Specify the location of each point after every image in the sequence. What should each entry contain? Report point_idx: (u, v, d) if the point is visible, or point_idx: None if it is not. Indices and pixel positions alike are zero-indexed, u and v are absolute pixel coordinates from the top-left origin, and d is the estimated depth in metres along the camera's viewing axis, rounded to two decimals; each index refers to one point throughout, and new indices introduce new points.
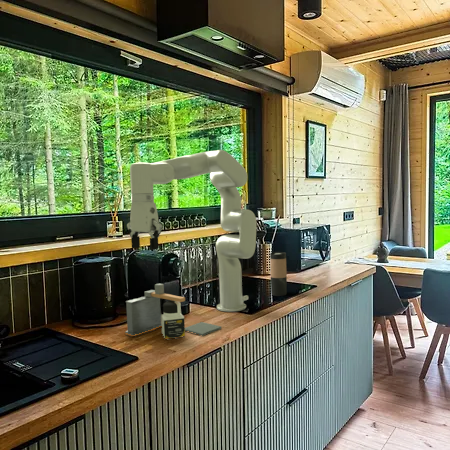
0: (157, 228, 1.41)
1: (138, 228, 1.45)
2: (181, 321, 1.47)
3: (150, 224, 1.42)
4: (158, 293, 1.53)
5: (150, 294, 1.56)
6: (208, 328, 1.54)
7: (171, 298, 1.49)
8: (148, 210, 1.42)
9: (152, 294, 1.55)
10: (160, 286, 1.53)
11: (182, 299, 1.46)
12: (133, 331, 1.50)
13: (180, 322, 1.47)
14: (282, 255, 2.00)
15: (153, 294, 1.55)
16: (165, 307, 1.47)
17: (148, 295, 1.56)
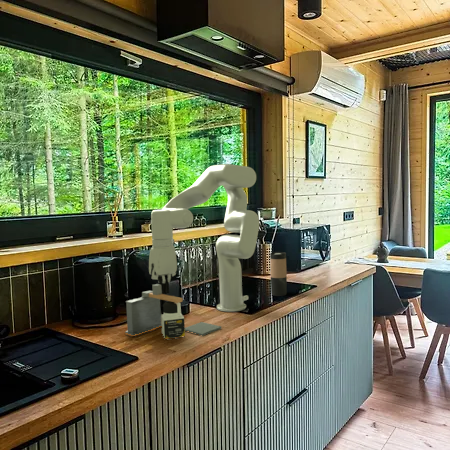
0: (173, 274, 1.58)
1: (167, 271, 1.54)
2: (181, 321, 1.47)
3: None
4: (156, 294, 1.52)
5: (148, 295, 1.55)
6: (208, 328, 1.54)
7: (169, 299, 1.48)
8: None
9: (150, 295, 1.55)
10: (158, 287, 1.52)
11: (180, 300, 1.46)
12: (133, 331, 1.50)
13: (180, 322, 1.47)
14: (282, 255, 2.00)
15: (151, 295, 1.54)
16: (165, 307, 1.47)
17: (146, 296, 1.55)
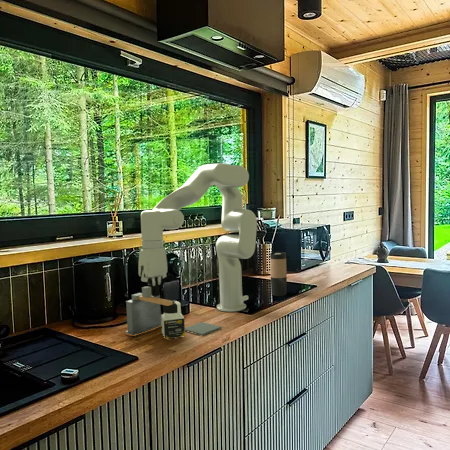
0: (163, 276, 1.55)
1: (157, 273, 1.51)
2: (181, 321, 1.47)
3: None
4: (145, 296, 1.49)
5: (137, 297, 1.51)
6: (208, 328, 1.54)
7: (158, 302, 1.44)
8: None
9: (139, 297, 1.51)
10: (147, 289, 1.49)
11: (169, 303, 1.42)
12: (133, 331, 1.50)
13: (180, 322, 1.47)
14: (282, 255, 2.00)
15: (140, 297, 1.51)
16: (165, 307, 1.47)
17: (135, 298, 1.52)
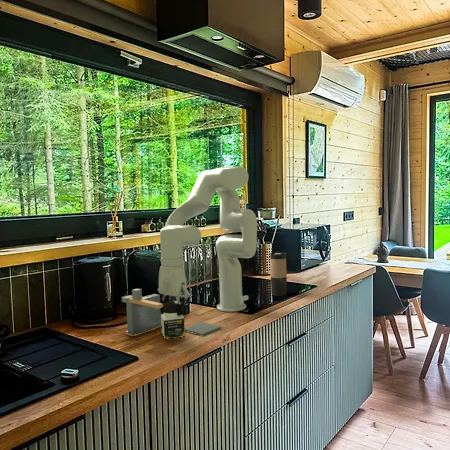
0: None
1: None
2: (181, 321, 1.47)
3: None
4: (135, 299, 1.46)
5: (127, 300, 1.48)
6: (208, 328, 1.54)
7: (148, 304, 1.41)
8: None
9: (129, 300, 1.48)
10: (137, 291, 1.46)
11: (160, 305, 1.39)
12: (133, 331, 1.50)
13: (180, 322, 1.46)
14: (282, 255, 2.00)
15: (130, 300, 1.48)
16: (165, 307, 1.47)
17: (125, 301, 1.48)
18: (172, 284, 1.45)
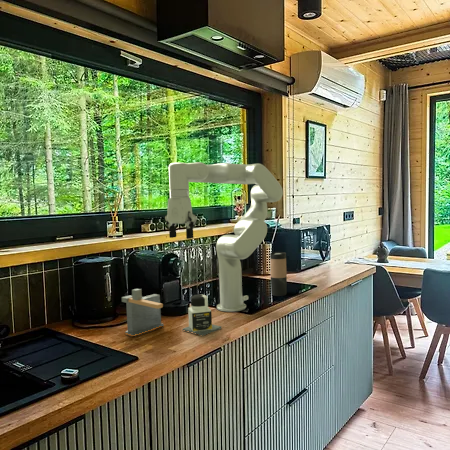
0: None
1: None
2: (209, 314, 1.51)
3: None
4: (135, 299, 1.46)
5: (127, 300, 1.48)
6: None
7: (148, 304, 1.41)
8: None
9: (129, 300, 1.48)
10: (137, 291, 1.46)
11: (160, 305, 1.39)
12: (133, 331, 1.50)
13: (207, 315, 1.51)
14: (282, 255, 2.00)
15: (130, 300, 1.48)
16: (193, 300, 1.51)
17: (125, 301, 1.48)
18: (180, 212, 1.63)
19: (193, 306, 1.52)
